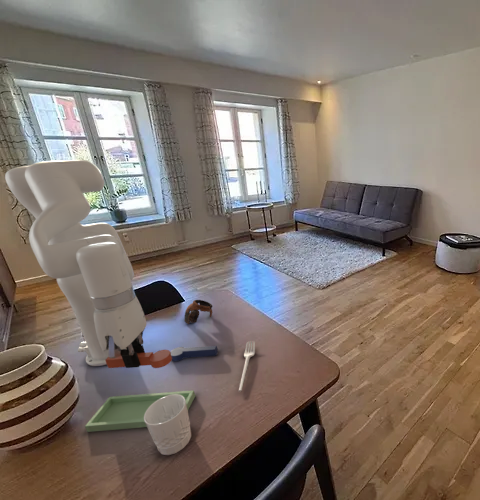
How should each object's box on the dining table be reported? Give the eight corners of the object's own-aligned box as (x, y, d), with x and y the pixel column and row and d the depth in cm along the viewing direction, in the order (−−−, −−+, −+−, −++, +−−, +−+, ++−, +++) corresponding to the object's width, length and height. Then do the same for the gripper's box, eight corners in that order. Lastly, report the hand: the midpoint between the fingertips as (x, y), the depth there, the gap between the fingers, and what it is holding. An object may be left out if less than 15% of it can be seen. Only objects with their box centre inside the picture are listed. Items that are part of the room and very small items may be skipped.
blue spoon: (219, 349, 97) (218, 343, 96) (214, 358, 93) (213, 352, 92) (174, 352, 96) (173, 346, 95) (168, 361, 92) (166, 355, 91)
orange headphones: (186, 315, 117) (193, 296, 117) (210, 322, 120) (217, 304, 120) (175, 325, 106) (184, 304, 106) (202, 333, 108) (210, 312, 108)
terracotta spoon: (104, 372, 70) (101, 363, 69) (116, 359, 74) (113, 351, 73) (166, 367, 71) (164, 359, 70) (175, 355, 75) (173, 347, 74)
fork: (234, 393, 80) (232, 388, 79) (246, 346, 99) (245, 341, 98) (246, 392, 80) (245, 386, 80) (256, 345, 99) (255, 340, 98)
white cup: (166, 426, 71) (156, 395, 67) (199, 424, 72) (191, 392, 68) (147, 460, 64) (135, 426, 60) (185, 456, 64) (175, 423, 61)
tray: (87, 432, 70) (84, 426, 69) (111, 402, 78) (109, 396, 77) (181, 424, 72) (179, 418, 71) (195, 395, 80) (194, 390, 79)
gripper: (119, 282, 73) (139, 343, 79) (68, 318, 58) (97, 389, 65) (150, 280, 74) (168, 341, 80) (108, 315, 59) (133, 386, 65)
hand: (136, 362), depth 72 cm, fingers closed on terracotta spoon, 1 cm apart
